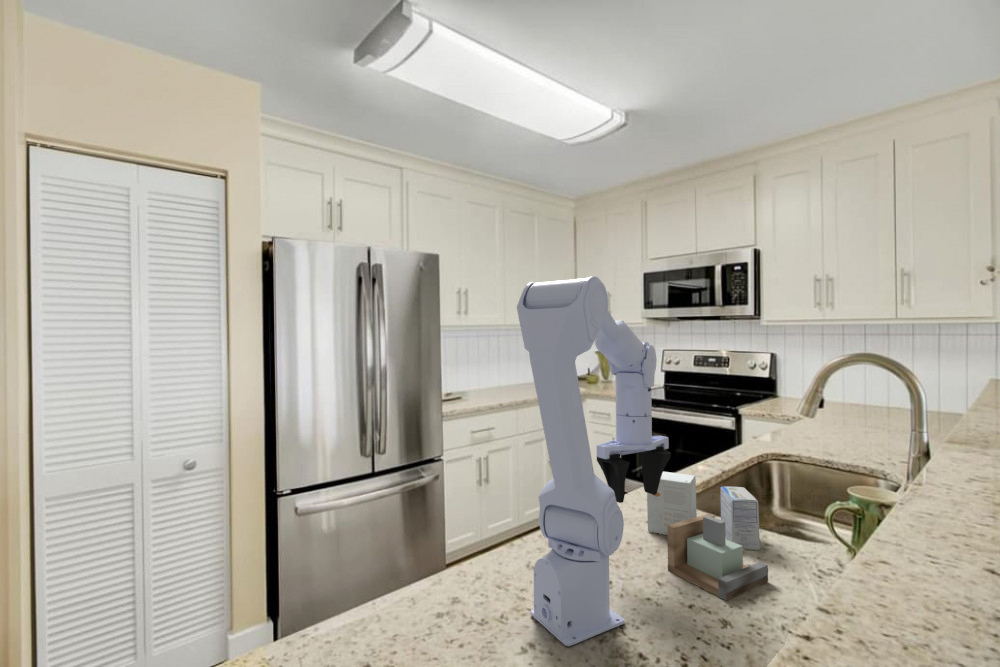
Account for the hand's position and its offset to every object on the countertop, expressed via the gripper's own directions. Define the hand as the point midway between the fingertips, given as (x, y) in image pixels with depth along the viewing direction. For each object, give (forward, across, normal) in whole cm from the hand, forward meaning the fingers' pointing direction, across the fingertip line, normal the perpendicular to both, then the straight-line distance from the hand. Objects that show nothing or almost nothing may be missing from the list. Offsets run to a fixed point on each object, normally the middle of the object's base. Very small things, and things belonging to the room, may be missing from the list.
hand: (634, 496), depth 77 cm
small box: (+11, +15, +5) cm, 19 cm away
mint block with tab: (+9, +7, -10) cm, 15 cm away
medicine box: (+11, +22, -4) cm, 25 cm away
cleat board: (+10, +7, -10) cm, 16 cm away
